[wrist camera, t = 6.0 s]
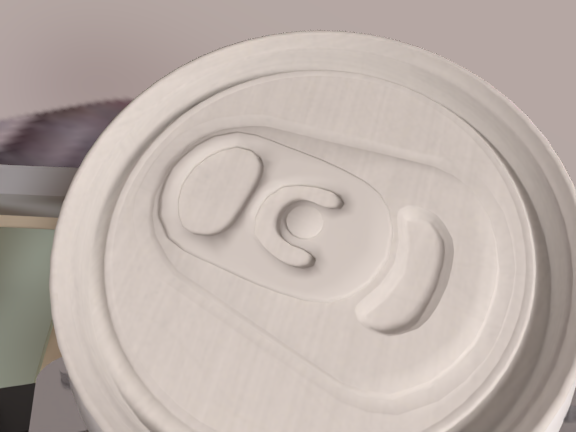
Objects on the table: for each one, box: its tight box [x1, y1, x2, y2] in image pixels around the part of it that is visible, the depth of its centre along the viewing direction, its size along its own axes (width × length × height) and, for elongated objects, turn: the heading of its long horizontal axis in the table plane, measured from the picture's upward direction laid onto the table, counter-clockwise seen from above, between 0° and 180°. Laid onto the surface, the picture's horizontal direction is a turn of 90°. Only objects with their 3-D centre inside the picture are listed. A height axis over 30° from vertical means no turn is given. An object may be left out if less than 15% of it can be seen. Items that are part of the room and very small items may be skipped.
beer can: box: [49, 30, 576, 432], centre depth 12 cm, size 6×6×15 cm
